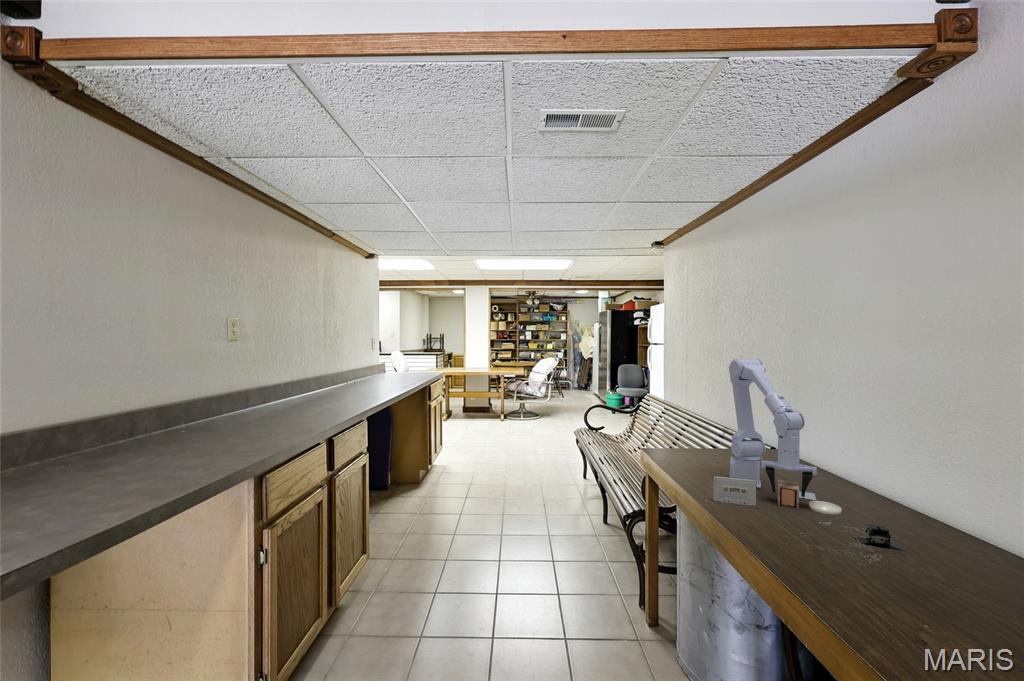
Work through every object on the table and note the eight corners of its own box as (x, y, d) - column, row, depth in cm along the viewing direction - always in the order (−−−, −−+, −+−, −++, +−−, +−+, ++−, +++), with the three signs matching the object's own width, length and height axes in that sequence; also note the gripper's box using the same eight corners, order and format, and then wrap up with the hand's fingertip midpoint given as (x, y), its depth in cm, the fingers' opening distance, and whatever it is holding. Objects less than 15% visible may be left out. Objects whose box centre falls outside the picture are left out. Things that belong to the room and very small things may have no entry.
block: (781, 504, 137) (781, 488, 137) (781, 501, 140) (781, 485, 140) (794, 506, 135) (794, 490, 135) (793, 503, 138) (794, 487, 138)
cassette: (713, 501, 139) (713, 477, 139) (713, 499, 141) (713, 475, 141) (756, 506, 135) (756, 481, 135) (755, 504, 137) (755, 480, 137)
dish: (810, 511, 132) (810, 507, 132) (807, 502, 139) (807, 498, 138) (843, 517, 128) (843, 512, 128) (839, 507, 135) (839, 503, 134)
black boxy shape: (852, 546, 111) (852, 528, 111) (843, 534, 118) (843, 517, 117) (915, 556, 106) (915, 537, 106) (902, 543, 113) (902, 525, 113)
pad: (790, 496, 144) (790, 496, 144) (789, 490, 150) (789, 489, 150) (816, 500, 140) (816, 500, 140) (814, 493, 146) (814, 493, 146)
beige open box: (777, 504, 137) (778, 485, 136) (777, 498, 142) (777, 479, 142) (798, 508, 134) (799, 488, 134) (797, 502, 139) (797, 482, 139)
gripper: (761, 449, 138) (761, 493, 138) (817, 456, 131) (817, 502, 131) (761, 445, 144) (761, 486, 144) (815, 451, 137) (815, 494, 137)
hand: (788, 493), depth 138 cm, fingers open, 7 cm apart
